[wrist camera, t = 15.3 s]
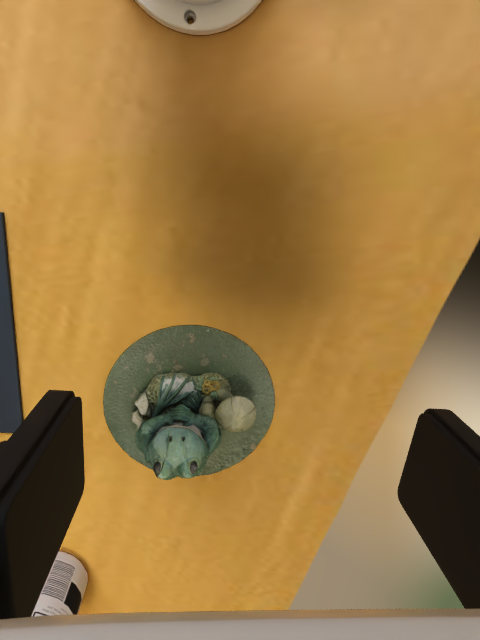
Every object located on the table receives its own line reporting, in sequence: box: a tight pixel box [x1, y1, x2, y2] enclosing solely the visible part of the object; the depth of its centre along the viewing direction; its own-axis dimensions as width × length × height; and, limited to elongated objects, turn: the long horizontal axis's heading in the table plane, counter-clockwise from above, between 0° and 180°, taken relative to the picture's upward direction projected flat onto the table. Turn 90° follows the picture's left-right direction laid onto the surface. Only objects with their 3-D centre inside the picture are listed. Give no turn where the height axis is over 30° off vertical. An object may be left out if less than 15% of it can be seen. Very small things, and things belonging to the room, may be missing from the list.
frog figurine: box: [103, 325, 275, 480], centre depth 34 cm, size 18×18×12 cm
